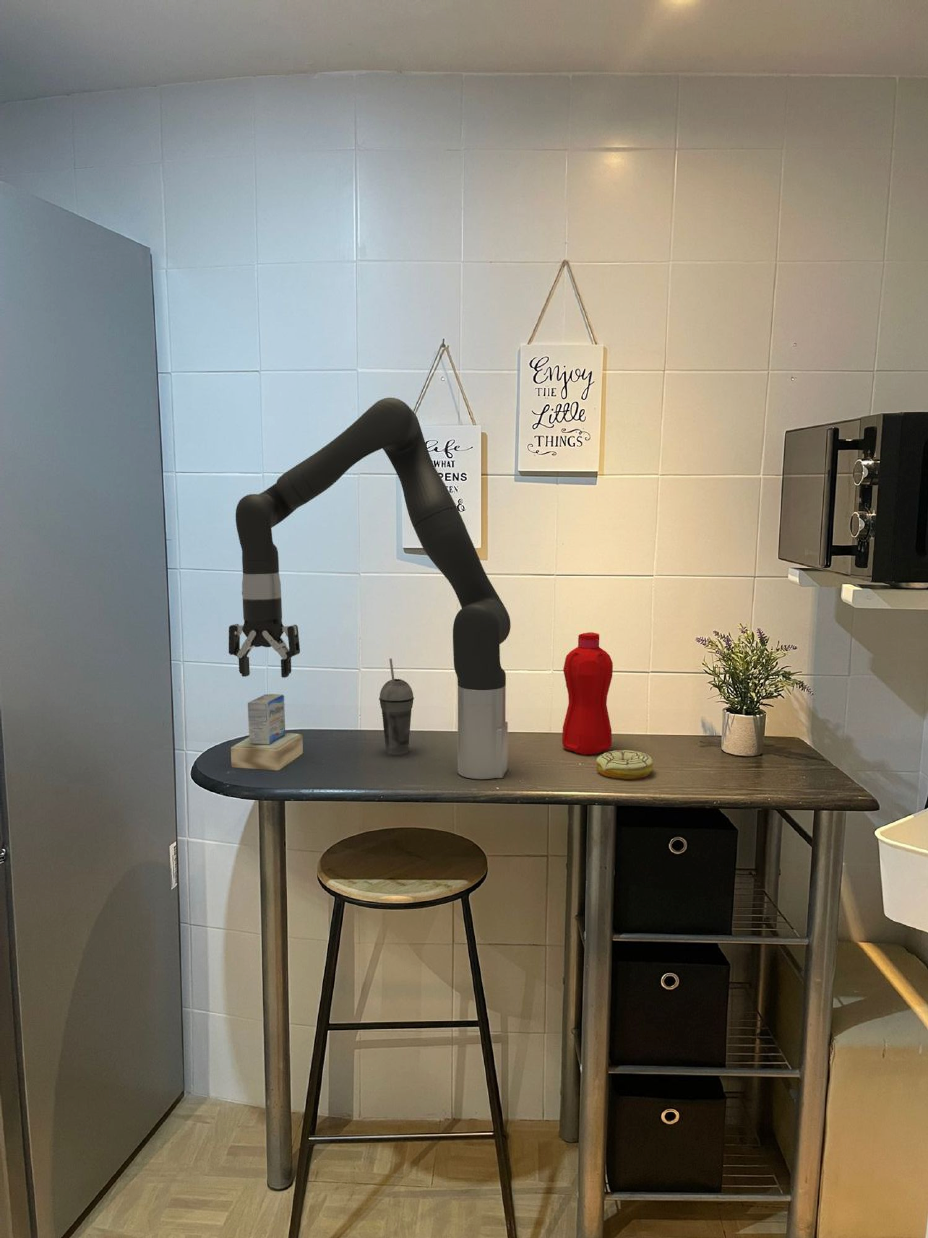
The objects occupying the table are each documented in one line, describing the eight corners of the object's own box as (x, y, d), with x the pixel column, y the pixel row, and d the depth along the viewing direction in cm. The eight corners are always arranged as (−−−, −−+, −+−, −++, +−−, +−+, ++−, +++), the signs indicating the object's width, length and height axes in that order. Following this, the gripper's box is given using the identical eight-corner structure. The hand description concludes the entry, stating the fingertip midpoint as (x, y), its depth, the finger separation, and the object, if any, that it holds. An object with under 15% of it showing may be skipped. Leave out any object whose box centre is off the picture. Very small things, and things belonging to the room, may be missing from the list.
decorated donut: (594, 765, 175) (594, 747, 174) (648, 766, 174) (648, 747, 173) (598, 781, 164) (599, 761, 164) (656, 782, 164) (656, 762, 163)
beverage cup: (419, 755, 181) (418, 660, 178) (385, 758, 178) (384, 662, 176) (408, 746, 188) (407, 654, 185) (375, 749, 185) (374, 656, 182)
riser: (302, 753, 182) (302, 733, 182) (278, 770, 170) (278, 749, 170) (258, 750, 184) (257, 731, 184) (231, 767, 173) (230, 746, 172)
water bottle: (580, 739, 193) (582, 627, 189) (617, 750, 184) (620, 633, 181) (550, 746, 187) (551, 631, 184) (586, 758, 178) (589, 637, 175)
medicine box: (269, 745, 172) (268, 702, 171) (248, 744, 173) (247, 701, 172) (286, 735, 180) (284, 694, 179) (266, 734, 181) (264, 693, 180)
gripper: (303, 594, 175) (305, 674, 177) (237, 593, 178) (241, 672, 180) (287, 598, 168) (291, 681, 170) (219, 597, 171) (223, 679, 173)
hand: (265, 676), depth 175 cm, fingers open, 8 cm apart
